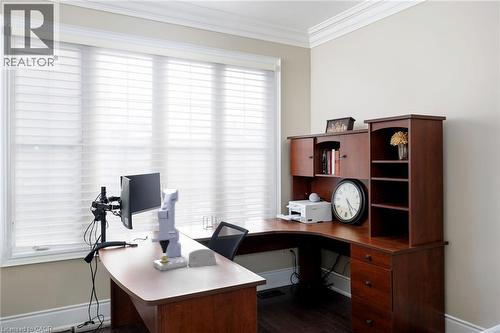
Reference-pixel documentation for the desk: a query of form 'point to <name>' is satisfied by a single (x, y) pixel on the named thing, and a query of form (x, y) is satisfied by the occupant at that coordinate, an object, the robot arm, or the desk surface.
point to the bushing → (163, 259)
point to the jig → (170, 263)
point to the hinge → (202, 258)
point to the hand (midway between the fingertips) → (164, 252)
